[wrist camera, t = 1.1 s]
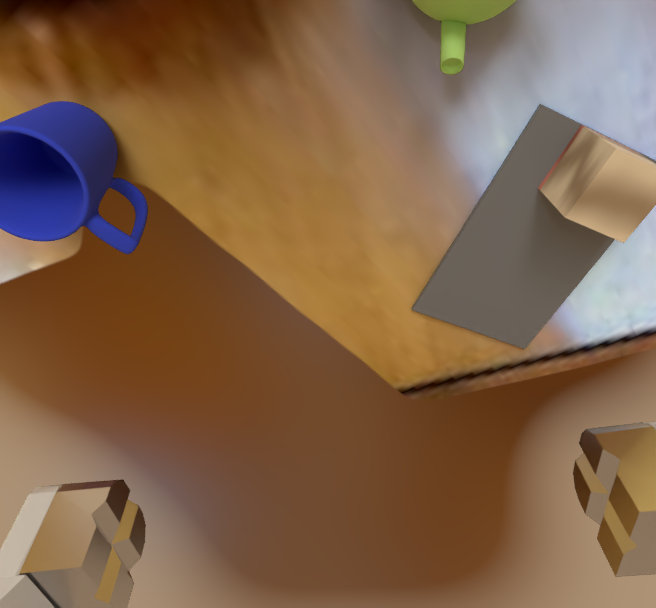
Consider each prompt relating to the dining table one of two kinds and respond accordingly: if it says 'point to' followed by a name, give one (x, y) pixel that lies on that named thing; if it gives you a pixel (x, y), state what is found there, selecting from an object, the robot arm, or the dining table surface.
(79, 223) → the mug
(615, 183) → the cube
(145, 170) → the dining table surface
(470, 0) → the teapot
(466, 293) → the mat
